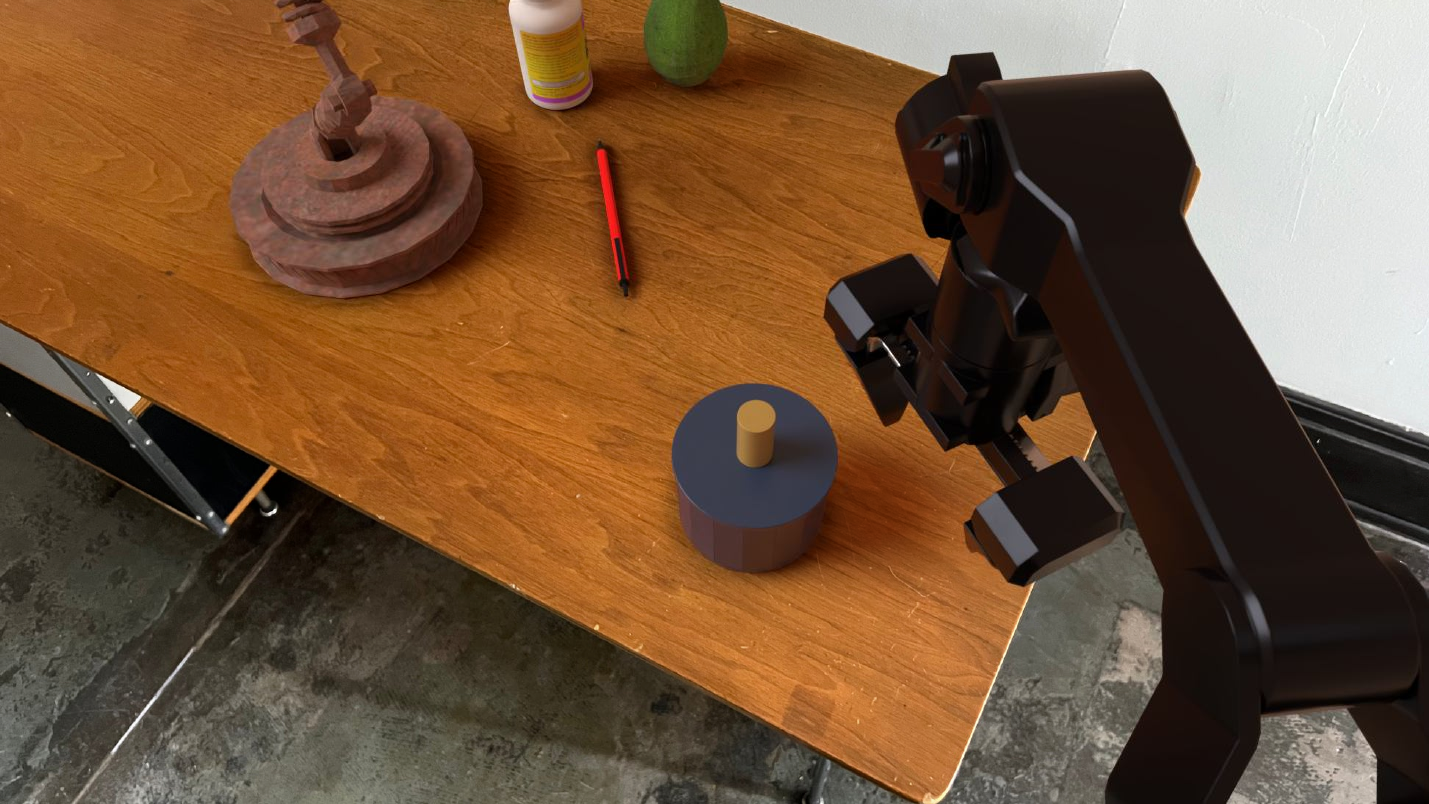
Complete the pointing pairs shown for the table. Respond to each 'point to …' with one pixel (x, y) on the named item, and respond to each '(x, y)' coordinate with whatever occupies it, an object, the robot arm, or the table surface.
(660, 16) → the fruit
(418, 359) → the table surface
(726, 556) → the canister
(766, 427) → the canister lid
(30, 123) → the table surface
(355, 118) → the desk lamp
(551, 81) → the supplement bottle
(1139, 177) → the robot arm
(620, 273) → the pen
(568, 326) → the table surface
